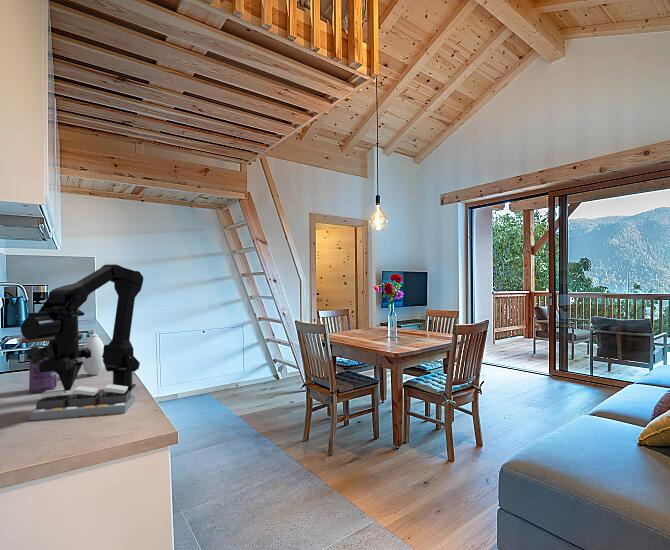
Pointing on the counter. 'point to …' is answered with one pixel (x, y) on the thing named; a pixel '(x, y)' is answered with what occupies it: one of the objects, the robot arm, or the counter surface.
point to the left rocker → (53, 393)
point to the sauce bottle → (94, 355)
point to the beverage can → (41, 379)
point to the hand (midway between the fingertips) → (67, 390)
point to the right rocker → (115, 388)
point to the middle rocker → (86, 390)
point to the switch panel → (82, 405)
